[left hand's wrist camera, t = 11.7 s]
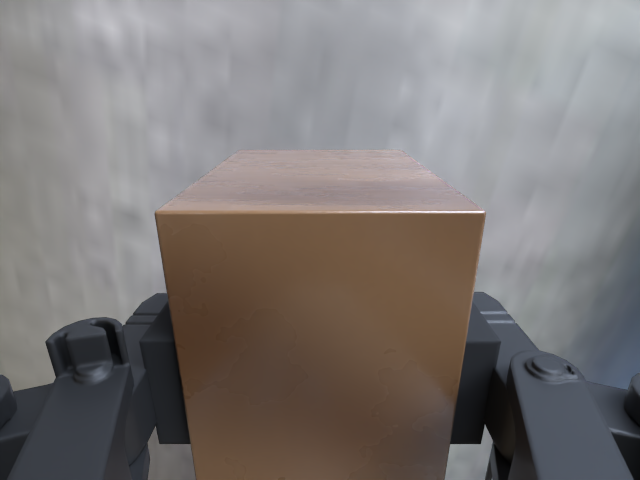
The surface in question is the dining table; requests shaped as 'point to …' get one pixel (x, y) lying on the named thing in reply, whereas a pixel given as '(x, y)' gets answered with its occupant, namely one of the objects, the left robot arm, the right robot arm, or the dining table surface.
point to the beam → (320, 314)
